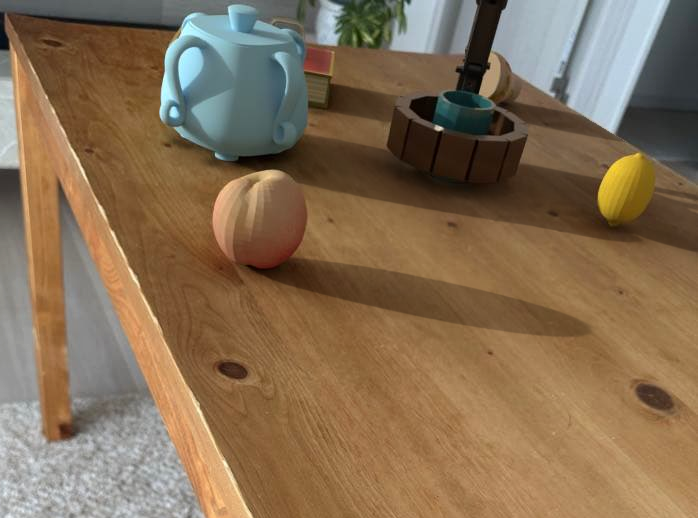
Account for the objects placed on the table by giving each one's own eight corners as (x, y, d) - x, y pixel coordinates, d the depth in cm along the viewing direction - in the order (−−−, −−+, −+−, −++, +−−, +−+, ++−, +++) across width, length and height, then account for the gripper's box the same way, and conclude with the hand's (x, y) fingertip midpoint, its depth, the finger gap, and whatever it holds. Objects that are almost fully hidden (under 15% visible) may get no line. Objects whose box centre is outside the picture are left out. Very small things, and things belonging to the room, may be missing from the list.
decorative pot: (139, 151, 94) (143, 7, 85) (180, 106, 106) (187, -24, 96) (287, 183, 93) (306, 42, 84) (311, 135, 105) (331, 7, 96)
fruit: (232, 234, 82) (241, 147, 77) (311, 259, 81) (325, 172, 75) (195, 266, 76) (201, 174, 71) (279, 293, 75) (292, 201, 70)
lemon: (577, 219, 98) (605, 146, 92) (605, 212, 101) (633, 140, 95) (618, 240, 95) (649, 166, 90) (645, 232, 98) (677, 159, 93)
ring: (515, 148, 107) (527, 110, 104) (515, 193, 96) (529, 151, 93) (394, 121, 108) (402, 82, 105) (380, 163, 97) (389, 120, 94)
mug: (530, 109, 127) (542, 50, 118) (476, 143, 126) (483, 86, 117) (498, 79, 130) (507, 19, 120) (445, 112, 129) (449, 53, 119)
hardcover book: (181, 55, 121) (183, 20, 118) (330, 82, 122) (335, 48, 119) (166, 79, 112) (167, 43, 110) (326, 108, 113) (332, 73, 111)
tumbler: (475, 168, 105) (495, 97, 100) (474, 187, 101) (495, 113, 95) (423, 156, 106) (441, 85, 100) (419, 175, 101) (437, 101, 95)
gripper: (485, -122, 96) (430, 105, 112) (482, -107, 85) (422, 142, 101) (552, -108, 96) (488, 118, 111) (557, -91, 85) (485, 156, 101)
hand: (457, 129), depth 106 cm, fingers closed on ring, 2 cm apart
